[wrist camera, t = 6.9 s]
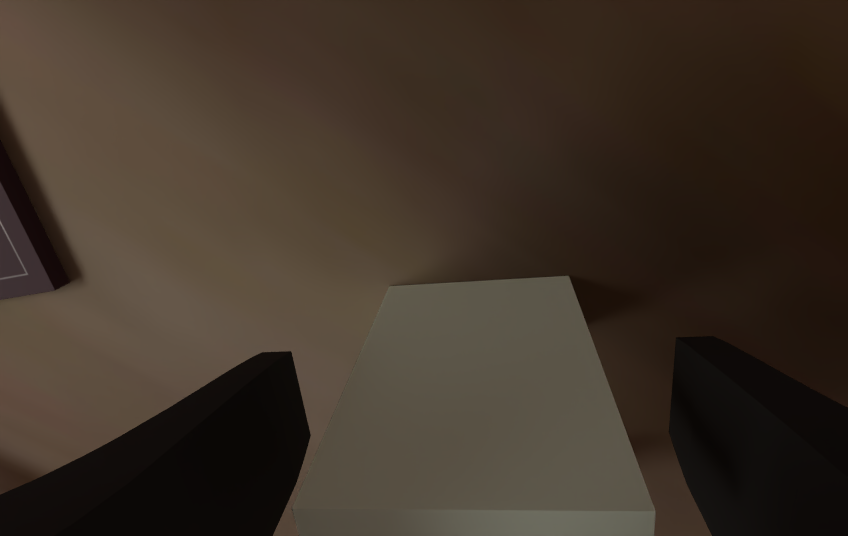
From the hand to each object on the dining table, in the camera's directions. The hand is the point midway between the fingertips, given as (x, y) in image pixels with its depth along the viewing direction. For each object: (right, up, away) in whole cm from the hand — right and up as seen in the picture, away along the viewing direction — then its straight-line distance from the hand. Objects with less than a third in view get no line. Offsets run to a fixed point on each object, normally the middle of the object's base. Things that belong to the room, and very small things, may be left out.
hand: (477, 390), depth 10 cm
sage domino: (0, +1, +3) cm, 3 cm away
